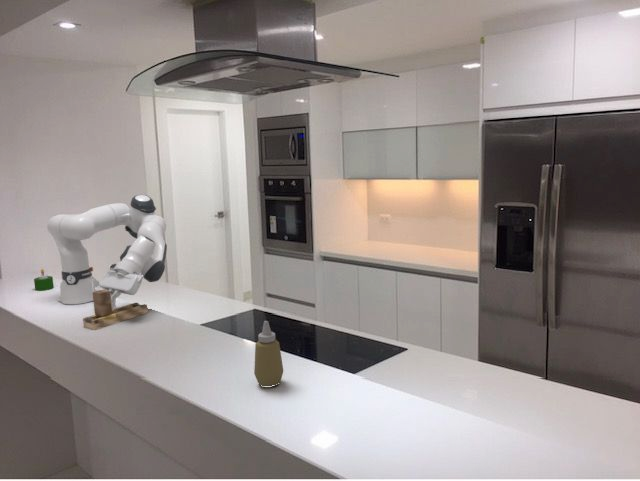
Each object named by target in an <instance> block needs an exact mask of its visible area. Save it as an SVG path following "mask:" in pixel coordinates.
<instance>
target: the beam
mask: <svg viewBox="0 0 640 481" xmlns="http://www.w3.org/2000/svg"><path fill="white" fill-rule="evenodd" d="M148 312H149V310H148V305H147V304H145V303H144V304H139V302H133V303H130V304H126V305H123V306H120V307H116V309H112V314H109V315H107V316H104V317H101V318H98V316H97V315H95V314H93V315H89V316H86V317H83V318H82V322H83V328H85V329H89V330H94V331H95V330H100V329H102V328H106V327H108V326H112V325H114V324H117V323H118V324H119V323H120V322H121V323H122V322H123V321H126V320H127V321H128V320H131V319H133V318H136V317H140V316H142V315H145V314H148Z"/></svg>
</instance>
